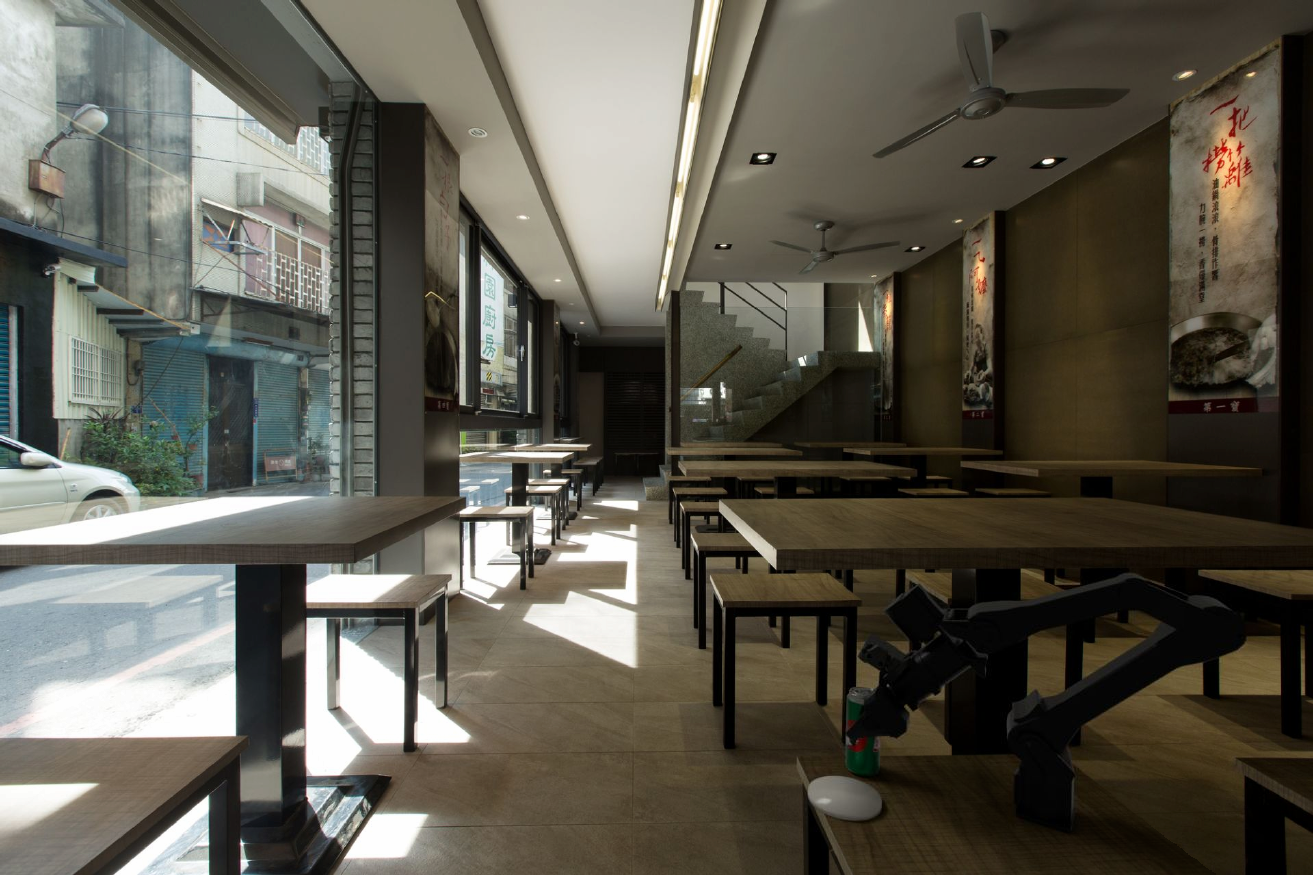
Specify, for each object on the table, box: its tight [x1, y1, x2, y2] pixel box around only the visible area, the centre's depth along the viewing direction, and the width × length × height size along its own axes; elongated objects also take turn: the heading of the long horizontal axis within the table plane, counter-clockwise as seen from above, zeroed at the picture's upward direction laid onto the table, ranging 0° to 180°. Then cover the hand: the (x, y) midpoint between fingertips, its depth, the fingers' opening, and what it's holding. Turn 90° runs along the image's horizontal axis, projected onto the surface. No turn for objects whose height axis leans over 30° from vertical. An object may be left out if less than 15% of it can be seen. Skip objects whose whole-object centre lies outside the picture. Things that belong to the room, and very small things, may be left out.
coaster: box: [807, 775, 883, 822], centre depth 93 cm, size 10×10×1 cm
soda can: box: [844, 686, 881, 777], centre depth 102 cm, size 5×5×12 cm
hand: (854, 724), depth 103 cm, fingers open, 9 cm apart
